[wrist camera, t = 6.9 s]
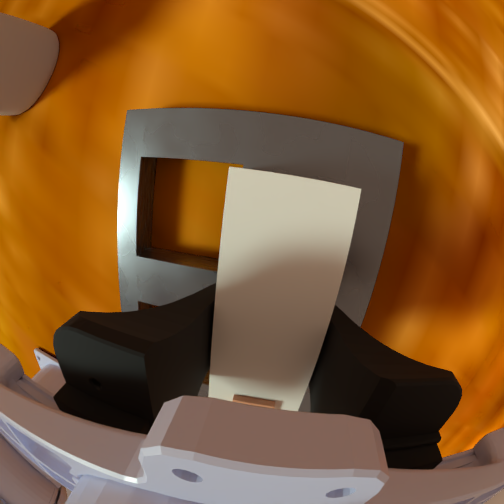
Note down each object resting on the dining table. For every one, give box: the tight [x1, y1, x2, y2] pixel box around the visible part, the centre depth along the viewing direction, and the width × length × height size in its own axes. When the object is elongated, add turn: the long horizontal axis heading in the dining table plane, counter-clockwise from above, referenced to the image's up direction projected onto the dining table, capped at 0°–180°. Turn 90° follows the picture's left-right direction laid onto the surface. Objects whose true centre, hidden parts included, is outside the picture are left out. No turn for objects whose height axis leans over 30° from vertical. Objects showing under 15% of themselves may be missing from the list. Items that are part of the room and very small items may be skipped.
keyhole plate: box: [117, 108, 404, 412], centre depth 13 cm, size 16×12×2 cm
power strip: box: [208, 167, 361, 411], centre depth 11 cm, size 11×4×5 cm, turn 172°
